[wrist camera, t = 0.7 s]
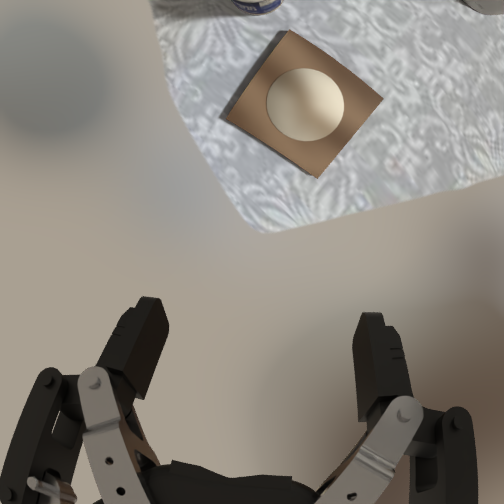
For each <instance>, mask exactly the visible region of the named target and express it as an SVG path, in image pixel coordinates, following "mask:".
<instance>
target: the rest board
mask: <svg viewBox="0 0 504 504" xmlns="http://www.w3.org/2000/svg"><path fill="white" fill-rule="evenodd" d="M382 100H383V98H382V97H381V96H380V95H379V94H378V93H376V92H375V91H374V90H373V89H372V88H371V87H369V86H368V85H367V84H366V83H365V82H363V81H362V80H361V79H360V78H358V77H357V76H356V75H355V74H353V73H352V72H351V71H350V70H348V69H347V68H346V67H344V66H343V65H342V64H340V63H339V62H338V61H336V60H335V59H334V58H332V57H331V56H329V55H328V54H327V53H325V52H324V51H322V50H321V49H319V48H318V47H316V46H315V45H313V44H312V43H310V42H309V41H307V40H306V39H304V38H303V37H301V36H299V35H298V34H296V33H295V32H293V31H291V30H290V29H289V31H288V32H287V33H286V34H285V36H284V37H283V38H282V39H281V41H280V42H279V43H278V45H277V46H276V47H275V49H274V50H273V51H272V53H271V54H270V55H269V57H268V58H267V59H266V61H265V62H264V64H263V65H262V66H261V68H260V69H259V70H258V72H257V73H256V75H255V76H254V77H253V79H252V80H251V82H250V83H249V85H248V86H247V88H246V89H245V90H244V92H243V93H242V95H241V96H240V98H239V99H238V101H237V102H236V104H235V105H234V107H233V108H232V110H231V112H230V113H229V115H228V116H227V118H226V119H227V120H229V121H230V122H232V123H234V124H235V125H237V126H239V127H240V128H242V129H244V130H245V131H247V132H248V133H250V134H252V135H253V136H255V137H256V138H258V139H260V140H261V141H263V142H264V143H266V144H267V145H269V146H270V147H272V148H273V149H275V150H276V151H278V152H279V153H281V154H282V155H284V156H285V157H287V158H288V159H290V160H291V161H293V162H294V163H296V164H297V165H299V166H300V167H301V168H303V169H304V170H306V171H307V172H309V173H310V174H311V175H313V176H314V177H315V178H317V179H318V177H319V176H320V175H321V174H322V173H323V171H324V170H325V169H326V168H327V167H328V165H329V164H330V163H331V162H332V161H333V159H334V158H335V157H336V156H337V155H338V153H339V152H340V151H341V150H342V149H343V147H344V146H345V145H346V144H347V142H348V141H349V140H350V139H351V138H352V136H353V135H354V134H355V133H356V132H357V130H358V129H359V128H360V127H361V126H362V124H363V123H364V122H365V121H366V120H367V118H368V117H369V116H370V115H371V113H372V112H373V111H374V110H375V109H376V107H377V106H378V105H379V104H380V103H381V101H382Z"/></svg>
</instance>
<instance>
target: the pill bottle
mask: <svg viewBox="0 0 504 504" xmlns="http://www.w3.org/2000/svg"><path fill="white" fill-rule="evenodd" d="M232 2H233V3H234V4H235V5H236V6H237V7H238V8H239V9H240V10H242V11H243V12H245V13H248V14H252V15H265V14H268V13H271V12H273V11H275V10H276V9H278V8H279V7H280V6H281V4H282V3H283V0H232Z"/></svg>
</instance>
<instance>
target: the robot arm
mask: <svg viewBox="0 0 504 504" xmlns="http://www.w3.org/2000/svg"><path fill="white" fill-rule="evenodd" d="M463 1H464V2H466V3H467V4H468V5H469V6H470V7H471V8H473V9H474V10H476V11H478V12H479V13H482V14H485V15H500V14H504V0H463ZM168 333H169V322H168V320H167V316H166V313H165V311H164V307H163V305H162V302H161V300H160V299H159V298H153V297H144V296H143V297H141V298H140V300H139V301H138V303H137V305H136V307H135V308H133V307H130V308H129V309H128V310H127V311H126V312H125V313H124V314H123V315H122V316H121V318H120V319H119V321H118V323H117V327H116V328H115V329H114V331H113V333H112V335H111V337H110V339H109V340H108V342H107V345H106V346H105V348H104V350H103V352H102V354H101V356H100V358H99V360H98V362H97V364H96V366H94V367H90V368H87V369H86V370H85V371H83V372H82V373H81V375H62V374H61V373H60V372H59V371H58V369H56V368H53V367H49V368H46V369H44V370H43V371H42V372H40V374H39V375H38V377H37V379H36V381H35V383H34V385H33V388H32V390H31V392H30V395H29V397H28V399H27V402H26V404H25V406H24V409H23V411H22V414H21V416H20V419H19V421H18V424H17V427H16V429H15V432H14V435H13V438H12V440H11V444H10V447H9V450H8V453H7V456H6V459H5V462H4V466H3V469H2V473H1V476H0V501H1V503H2V504H75V502H76V501H77V496H76V494H75V493H74V491H73V489H72V487H71V482H72V478H73V473H74V470H75V466H76V463H77V459H78V456H79V452H80V449H81V446H82V443H83V442H84V446H85V449H86V453H87V456H88V459H89V463H90V466H91V469H92V472H93V475H94V478H95V481H96V484H97V486H98V489H99V492H100V495H101V497H102V499H100V500H98V501H96V502H95V503H93V504H374V503H375V502H376V500H377V499H378V498H379V496H380V495H381V493H382V492H383V491H384V490H385V488H386V486H387V485H388V484H389V482H390V481H391V479H392V478H393V476H394V473H395V470H394V469H395V466H396V465H397V463H398V462H399V460H400V458H401V457H402V455H403V454H404V455H409V456H410V493H409V504H478V475H477V474H478V472H477V458H476V447H475V438H474V431H473V424H472V419H471V416H470V414H469V412H468V411H467V410H466V409H464V408H462V407H452V408H450V409H449V410H448V411H446V412H442V411H436V410H431V409H427V408H425V407H423V406H421V404H420V403H419V402H418V401H417V400H416V399H415V398H414V397H413V393H412V389H411V384H410V379H409V374H408V369H407V364H406V360H405V355H404V351H403V347H402V342H401V338H400V336H399V334H398V333H397V331H396V330H395V329H394V327H393V326H385V322H384V318H383V315H382V313H378V312H377V313H375V312H364V313H362V315H361V317H360V320H359V323H358V326H357V329H356V331H355V334H354V337H353V344H352V350H353V360H354V370H355V381H356V392H357V406H358V407H357V408H358V422H367V430H366V431H365V433H364V434H363V435H362V437H361V438H360V440H359V441H358V442H357V444H356V445H355V446H354V447H353V449H352V450H351V451H350V453H349V454H348V455H347V456H346V458H345V459H344V460H343V461H342V463H341V464H340V465H339V466H338V467H337V468H336V469H335V470H334V471H333V472H332V473H331V474H330V475H329V476H328V478H327V479H326V480H325V481H324V482H323V483H322V484H321V485H320V486H319V488H317V489H316V491H314V490H313V489H311V488H310V487H308V486H306V485H304V484H302V483H299V482H296V481H293V480H292V476H272V475H255V476H246V477H237V478H228V477H225V476H222V475H220V474H217V473H215V472H212V471H210V470H208V469H205V468H203V467H201V466H197V465H192V464H188V463H183V462H179V461H174V460H172V462H171V464H167V465H160V463H159V460H158V459H157V456H156V454H155V453H154V451H153V450H152V448H151V447H150V446H149V444H148V442H147V439H146V437H145V435H144V432H143V430H142V427H141V424H140V422H139V420H138V417H137V414H136V411H135V408H134V406H133V402H134V399H135V398H138V399H142V400H144V399H145V396H146V393H147V390H148V388H149V385H150V382H151V379H152V377H153V374H154V371H155V368H156V366H157V363H158V360H159V358H160V355H161V352H162V350H163V347H164V345H165V342H166V339H167V337H168ZM59 411H60V413H59ZM58 413H59V416H58V419H57V421H56V418H57V415H58ZM55 421H56V424H55V427H54V430H53V433H52V429H53V426H54V423H55Z"/></svg>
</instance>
